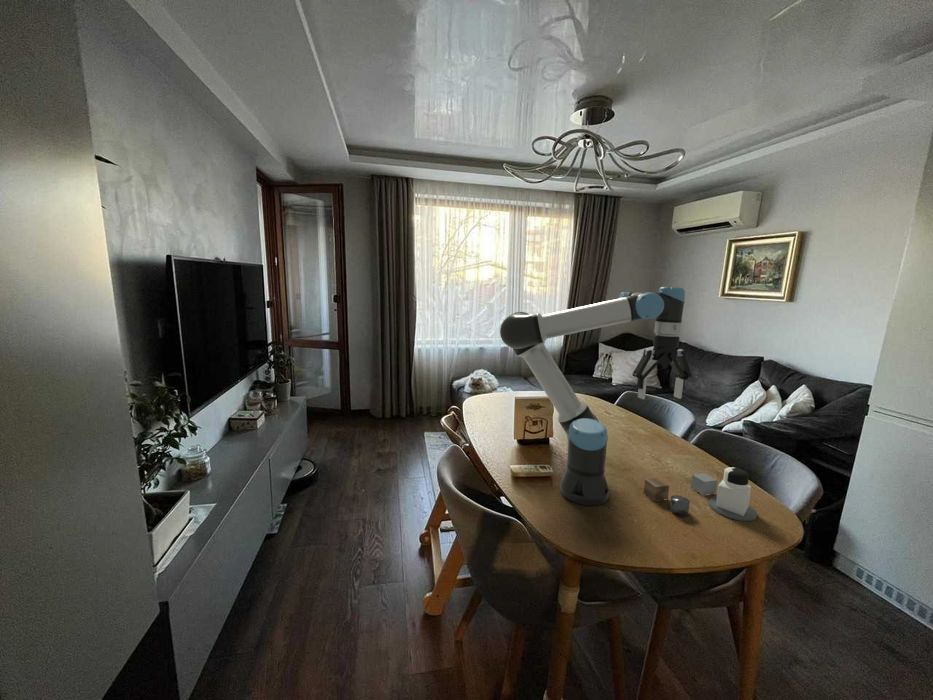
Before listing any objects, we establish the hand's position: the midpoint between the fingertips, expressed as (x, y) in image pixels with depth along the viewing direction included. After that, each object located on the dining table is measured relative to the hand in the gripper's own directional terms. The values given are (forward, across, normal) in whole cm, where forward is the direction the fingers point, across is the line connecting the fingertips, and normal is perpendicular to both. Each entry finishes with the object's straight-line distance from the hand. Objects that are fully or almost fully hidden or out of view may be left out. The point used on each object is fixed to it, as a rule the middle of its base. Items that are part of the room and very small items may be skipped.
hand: (659, 397), depth 128 cm
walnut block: (+30, -4, -9) cm, 32 cm away
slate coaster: (+30, +14, -19) cm, 38 cm away
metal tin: (+30, -3, -18) cm, 35 cm away
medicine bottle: (+29, +14, -19) cm, 38 cm away
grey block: (+30, +14, -8) cm, 34 cm away
